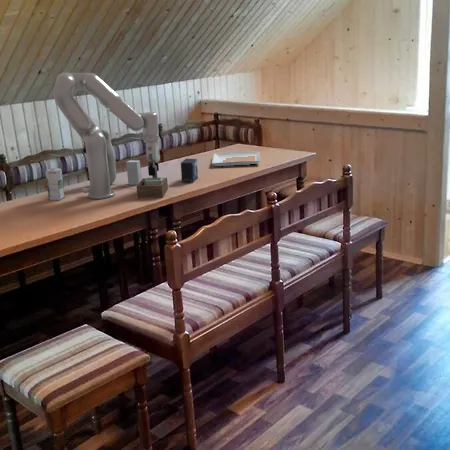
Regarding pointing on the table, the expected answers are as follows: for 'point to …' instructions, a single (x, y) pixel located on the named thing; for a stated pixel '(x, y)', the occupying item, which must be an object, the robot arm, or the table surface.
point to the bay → (152, 190)
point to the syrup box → (55, 184)
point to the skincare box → (133, 172)
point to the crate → (153, 179)
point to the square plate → (220, 157)
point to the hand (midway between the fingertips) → (153, 173)
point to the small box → (189, 170)
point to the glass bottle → (110, 157)
